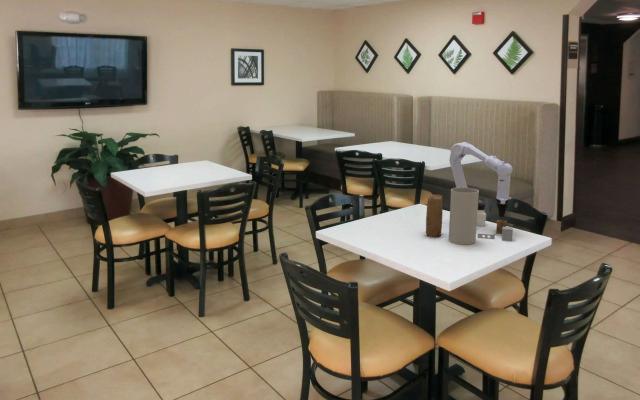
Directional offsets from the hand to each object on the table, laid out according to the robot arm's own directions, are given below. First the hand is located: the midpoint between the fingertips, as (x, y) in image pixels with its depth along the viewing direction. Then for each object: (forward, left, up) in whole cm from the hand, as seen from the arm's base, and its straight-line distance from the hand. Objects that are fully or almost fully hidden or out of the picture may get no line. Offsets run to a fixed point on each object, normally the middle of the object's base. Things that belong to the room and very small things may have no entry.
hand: (501, 214), depth 268 cm
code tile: (-7, -9, -9) cm, 15 cm away
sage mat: (0, -1, -9) cm, 9 cm away
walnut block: (0, -1, -9) cm, 9 cm away
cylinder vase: (-18, -20, -10) cm, 29 cm away
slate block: (+3, -12, -9) cm, 15 cm away
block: (-32, -12, -10) cm, 35 cm away
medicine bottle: (-12, +13, -10) cm, 20 cm away
